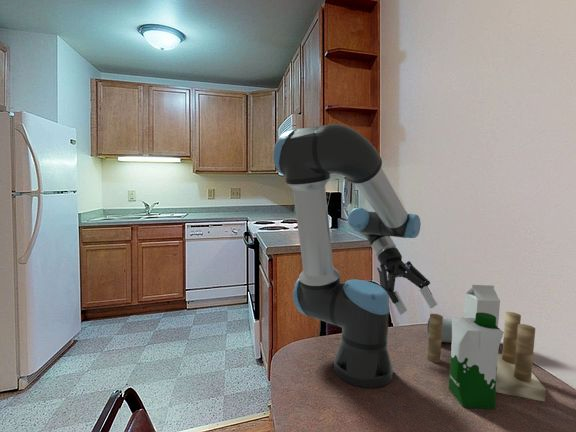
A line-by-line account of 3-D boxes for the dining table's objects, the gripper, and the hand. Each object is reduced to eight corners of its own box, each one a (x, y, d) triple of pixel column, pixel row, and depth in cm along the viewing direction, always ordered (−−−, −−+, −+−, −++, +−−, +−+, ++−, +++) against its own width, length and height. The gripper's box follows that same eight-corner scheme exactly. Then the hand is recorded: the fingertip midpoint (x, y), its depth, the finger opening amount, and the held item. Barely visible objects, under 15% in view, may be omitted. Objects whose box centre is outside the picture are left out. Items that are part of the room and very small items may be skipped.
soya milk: (502, 412, 70) (509, 323, 68) (460, 410, 70) (466, 321, 69) (479, 388, 78) (485, 309, 77) (442, 386, 79) (447, 307, 77)
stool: (467, 386, 79) (472, 324, 78) (455, 356, 94) (459, 303, 93) (544, 401, 74) (550, 335, 73) (518, 367, 89) (523, 311, 88)
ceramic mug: (460, 347, 100) (461, 323, 100) (433, 345, 101) (434, 321, 101) (447, 333, 111) (448, 312, 110) (423, 331, 112) (424, 310, 111)
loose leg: (427, 361, 91) (430, 317, 90) (426, 355, 94) (429, 313, 93) (440, 363, 90) (443, 318, 89) (439, 358, 93) (442, 314, 92)
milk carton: (496, 346, 101) (501, 288, 100) (474, 346, 101) (478, 287, 100) (483, 337, 108) (487, 282, 107) (462, 336, 108) (466, 281, 107)
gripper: (405, 256, 119) (437, 309, 107) (353, 260, 107) (382, 320, 95) (418, 244, 113) (453, 298, 101) (364, 248, 102) (397, 309, 90)
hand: (419, 309), depth 98 cm, fingers open, 13 cm apart
